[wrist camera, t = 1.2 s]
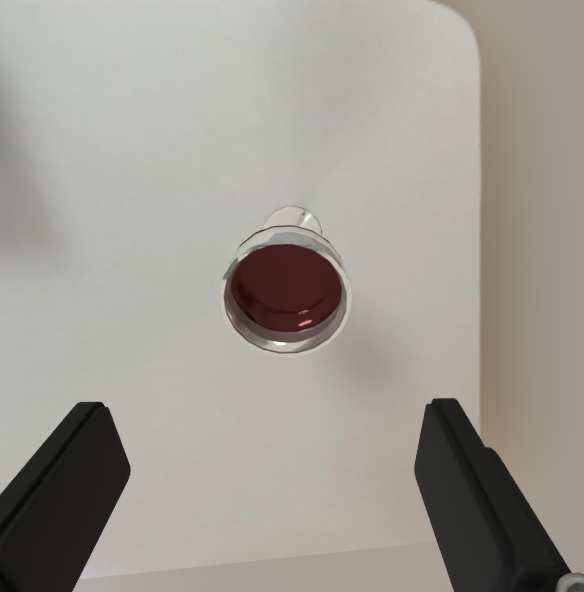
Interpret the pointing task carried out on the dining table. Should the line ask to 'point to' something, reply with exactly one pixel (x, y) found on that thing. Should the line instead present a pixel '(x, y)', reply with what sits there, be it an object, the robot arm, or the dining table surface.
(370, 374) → the dining table surface
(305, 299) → the wineglass
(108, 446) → the robot arm
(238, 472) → the dining table surface
